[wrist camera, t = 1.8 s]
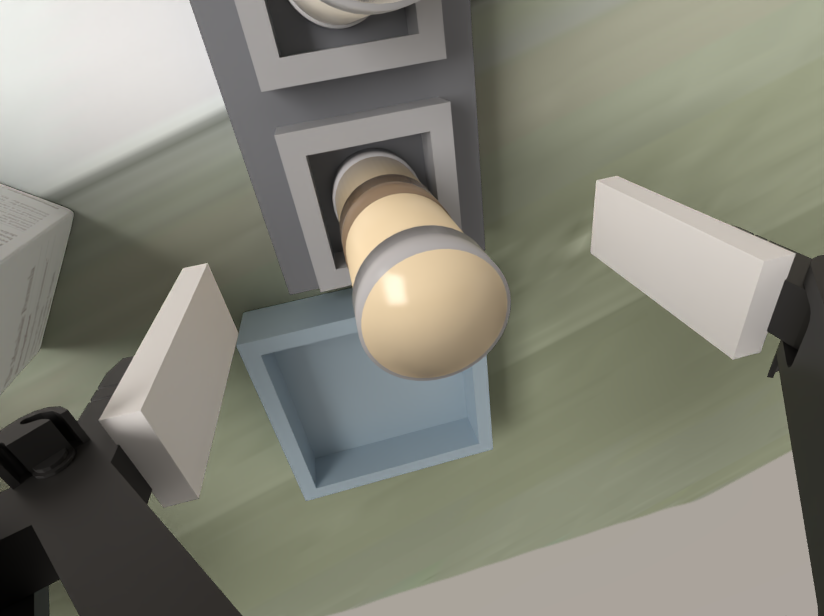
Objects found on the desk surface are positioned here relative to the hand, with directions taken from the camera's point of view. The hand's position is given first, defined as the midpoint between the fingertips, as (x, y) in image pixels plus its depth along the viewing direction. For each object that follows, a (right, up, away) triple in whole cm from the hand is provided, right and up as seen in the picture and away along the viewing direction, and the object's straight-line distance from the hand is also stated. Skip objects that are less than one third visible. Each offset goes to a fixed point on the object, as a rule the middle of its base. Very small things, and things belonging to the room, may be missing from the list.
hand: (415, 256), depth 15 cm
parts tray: (-3, -6, +16) cm, 18 cm away
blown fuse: (-2, +4, +7) cm, 8 cm away
